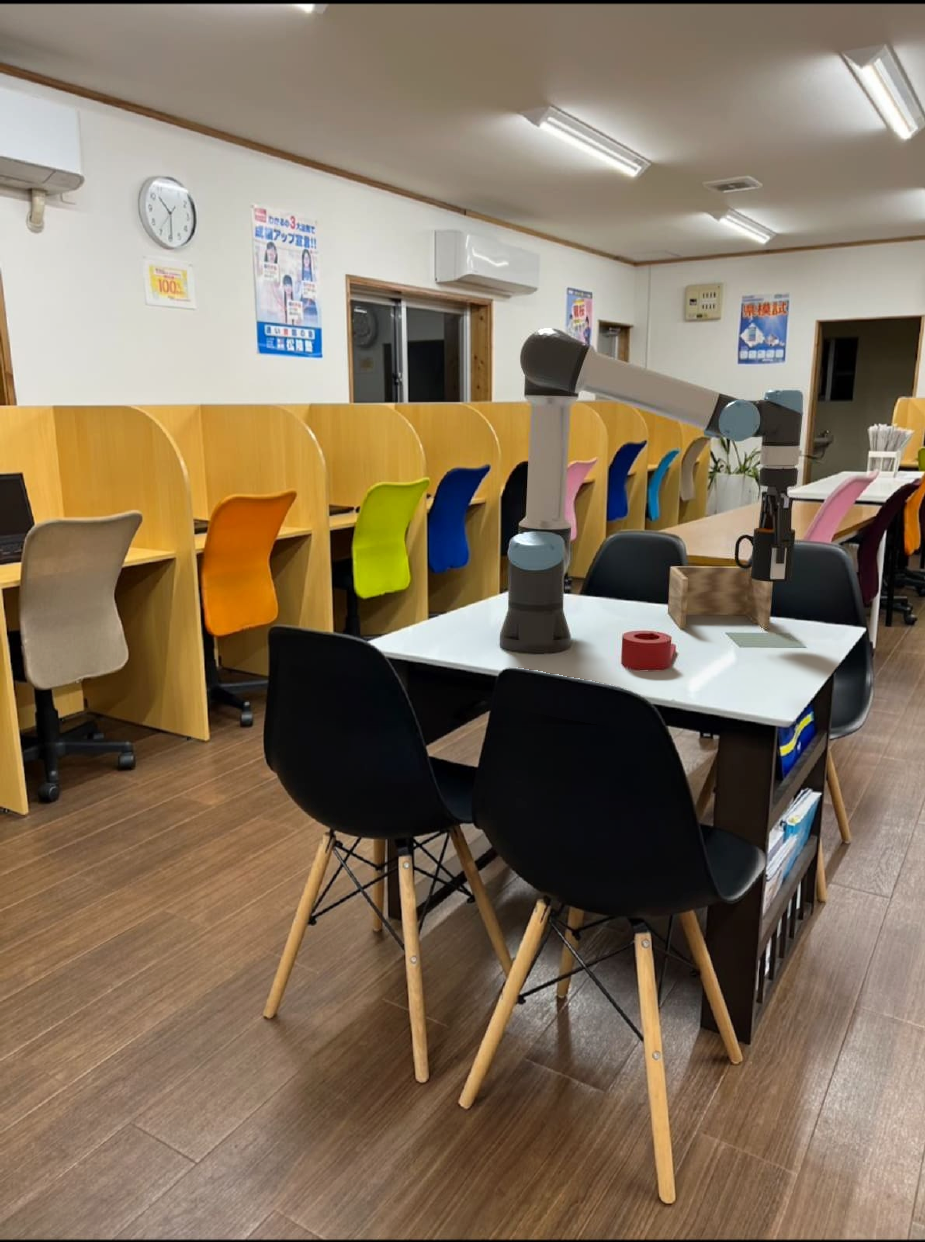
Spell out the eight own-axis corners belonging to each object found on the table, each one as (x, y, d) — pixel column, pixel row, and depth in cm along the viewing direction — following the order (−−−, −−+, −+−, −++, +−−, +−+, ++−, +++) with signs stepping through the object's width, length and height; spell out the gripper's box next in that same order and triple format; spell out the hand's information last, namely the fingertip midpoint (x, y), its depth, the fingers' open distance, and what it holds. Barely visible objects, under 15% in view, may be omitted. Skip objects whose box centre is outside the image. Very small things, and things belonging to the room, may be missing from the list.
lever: (659, 679, 169) (660, 645, 167) (613, 671, 174) (614, 638, 172) (691, 656, 183) (693, 625, 182) (648, 650, 188) (649, 619, 187)
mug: (737, 571, 197) (740, 525, 194) (794, 576, 191) (798, 528, 189) (729, 578, 190) (732, 530, 187) (787, 583, 184) (791, 533, 182)
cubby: (679, 630, 203) (682, 579, 200) (667, 614, 219) (670, 566, 216) (768, 631, 202) (773, 579, 199) (750, 614, 218) (753, 566, 215)
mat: (739, 649, 188) (739, 646, 188) (725, 635, 199) (725, 632, 199) (806, 650, 187) (807, 647, 187) (789, 635, 199) (789, 632, 199)
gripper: (814, 470, 174) (804, 584, 179) (782, 463, 194) (774, 565, 200) (775, 470, 174) (767, 584, 180) (747, 463, 195) (740, 565, 200)
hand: (770, 574), depth 190 cm, fingers closed on mug, 8 cm apart
